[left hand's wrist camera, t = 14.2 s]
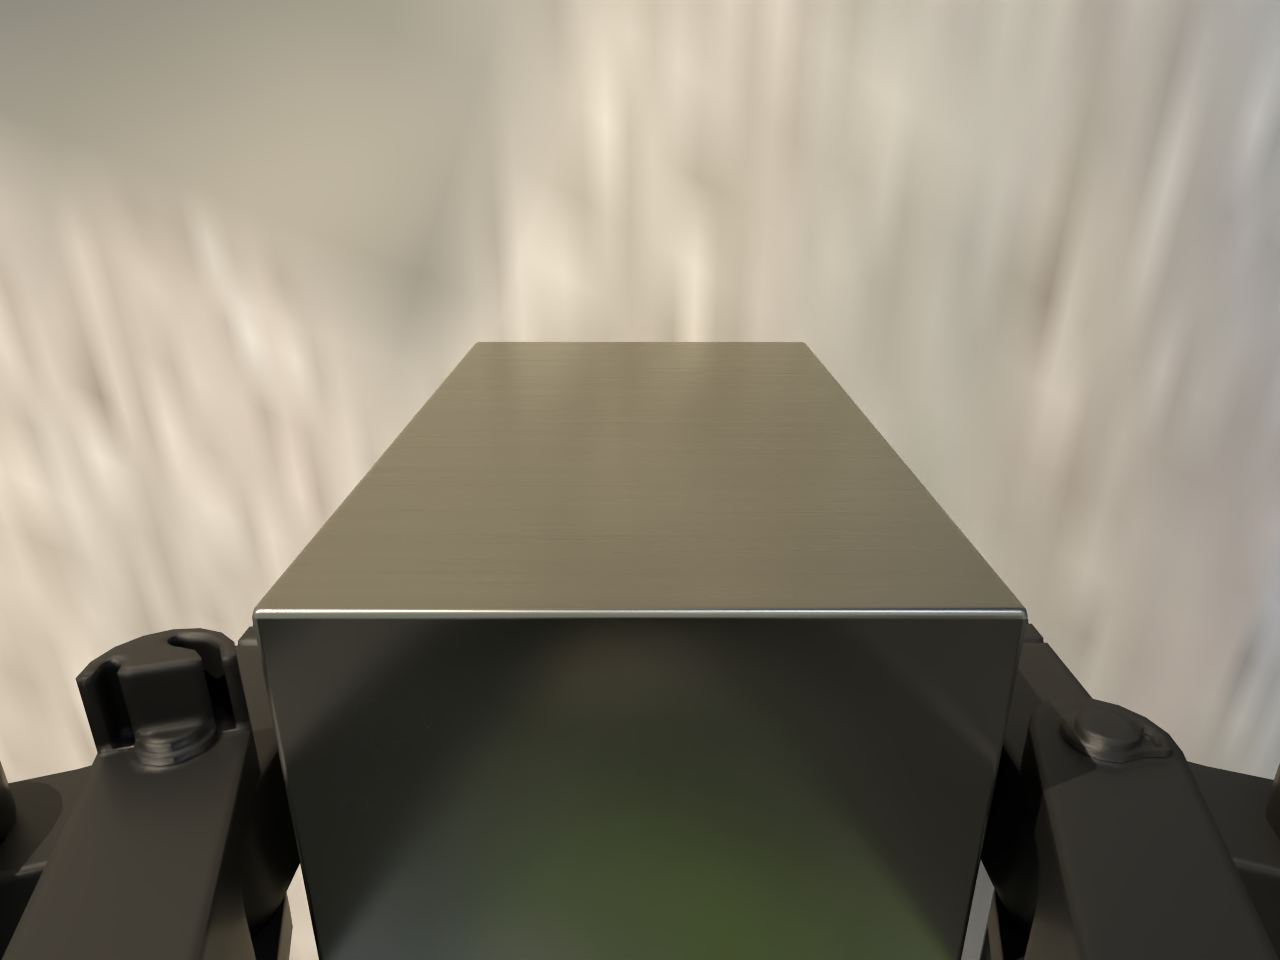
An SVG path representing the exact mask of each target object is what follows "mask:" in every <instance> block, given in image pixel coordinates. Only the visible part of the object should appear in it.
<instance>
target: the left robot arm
mask: <svg viewBox="0 0 1280 960" xmlns="http://www.w3.org/2000/svg"><path fill="white" fill-rule="evenodd" d="M76 681H77V685H78V688H79V691H80V695H81V698H82V701H83V705H84V708H85V711H86V715H87V718H88V722H89V725H90V728H91V732H92V735H93V738H94V742H95V745H96V749H97V752H98V754H97V756H96V758H95V760H94V762H93V764H92V766H88V767H84V768H80V769H77V770H72V771H67V772H62V773H57V774H52V775H48V776H43V777H38V778H33V779H28V780H23V781H18V782H13V783H9V784H8V782H7V779H6V776H5V773H4V770H3V767H2V765H1V762H0V960H289V954H290V945H291V936H292V927H293V926H292V919H291V913H290V907H289V902H288V897H287V889H288V887H289V885H290V883H291V881H292V879H293V877H294V875H295V872H296V870H297V868H298V866H299V864H300V859H299V854H298V849H297V844H296V839H295V834H294V829H293V824H292V818H291V813H290V808H289V803H288V798H287V793H286V788H285V783H284V778H283V772H282V767H281V762H280V757H279V752H278V747H277V742H276V737H275V731H274V726H273V721H272V716H271V711H270V706H269V701H268V696H267V691H266V685H265V680H264V675H263V670H262V665H261V660H260V655H259V650H258V645H257V639H256V634H255V629H254V624H253V627H249V628H248V629H247V631H246V632H245V633H244V634H243V635H242V637H241V638H240V639H239V640H238V646H235V644H234V642H233V641H232V640H231V639H229V638H228V637H227V636H225V635H224V634H223V633H221V632H216V631H211V630H206V629H201V628H195V629H173V630H168V631H164V632H159V633H155V634H150V635H145V636H142V637H139V638H137V639H134V640H132V641H129V642H127V643H124V644H122V645H119V646H116V647H114V648H113V649H111V650H109V651H108V652H106V653H104V654H103V655H101V656H100V657H98V658H96V659H95V660H93V661H91V662H90V663H89V664H88V665H87V667H86V668H85V669H84V670H83V671H82V672H81V673H80V674H79V675H78V676H77V677H76ZM981 860H982V863H983V865H984V867H985V869H986V871H987V873H988V875H989V877H990V879H991V882H992V884H993V886H994V892H993V897H992V902H991V907H990V912H989V916H988V921H987V926H986V931H985V935H984V940H983V945H982V950H981V955H980V959H979V960H1280V764H1279V767H1278V770H1277V773H1276V775H1275V778H1274V780H1271V779H1266V778H1261V777H1256V776H1251V775H1246V774H1241V773H1237V772H1232V771H1227V770H1222V769H1217V768H1212V767H1207V766H1203V765H1199V764H1195V763H1192V762H1188V761H1186V758H1185V756H1184V754H1183V752H1182V751H1181V749H1180V748H1179V747H1178V745H1177V744H1176V743H1175V742H1174V740H1173V739H1172V738H1171V736H1170V735H1169V734H1168V733H1167V732H1165V731H1164V730H1163V729H1161V728H1160V727H1158V726H1157V725H1156V724H1154V723H1153V722H1151V721H1150V720H1149V719H1147V718H1146V717H1143V716H1141V715H1139V714H1137V713H1135V712H1132V711H1130V710H1128V709H1126V708H1123V707H1121V706H1119V705H1115V704H1111V703H1107V702H1103V701H1099V700H1095V699H1092V697H1091V696H1090V695H1089V694H1088V693H1087V691H1086V690H1085V689H1084V688H1083V686H1082V685H1081V684H1080V683H1079V681H1078V680H1077V679H1076V678H1075V677H1074V675H1073V674H1072V673H1071V672H1070V670H1069V669H1068V668H1067V667H1066V665H1065V664H1064V663H1063V662H1062V661H1061V659H1060V658H1059V657H1058V656H1057V654H1056V653H1055V652H1054V651H1053V649H1052V648H1051V647H1050V646H1049V644H1048V643H1044V642H1043V637H1042V636H1041V635H1040V633H1039V632H1038V631H1037V630H1036V628H1035V627H1034V626H1033V625H1032V624H1028V619H1027V624H1026V630H1025V635H1024V640H1023V645H1022V650H1021V655H1020V660H1019V665H1018V670H1017V676H1016V681H1015V686H1014V691H1013V696H1012V701H1011V706H1010V711H1009V716H1008V722H1007V727H1006V732H1005V737H1004V742H1003V747H1002V752H1001V757H1000V762H999V767H998V773H997V778H996V783H995V788H994V793H993V798H992V803H991V808H990V813H989V819H988V824H987V829H986V834H985V839H984V844H983V849H982V854H981Z"/></svg>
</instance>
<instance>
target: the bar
mask: <svg viewBox="0 0 1280 960" xmlns="http://www.w3.org/2000/svg"><path fill="white" fill-rule="evenodd" d="M252 619H253V624H254V629H255V634H256V639H257V645H258V650H259V655H260V660H261V665H262V670H263V675H264V680H265V685H266V691H267V696H268V701H269V706H270V711H271V716H272V721H273V726H274V731H275V737H276V742H277V747H278V752H279V757H280V762H281V767H282V772H283V778H284V783H285V788H286V793H287V798H288V803H289V808H290V813H291V818H292V824H293V829H294V834H295V839H296V844H297V849H298V854H299V859H300V864H301V870H302V875H303V880H304V885H305V890H306V895H307V900H308V905H309V911H310V916H311V921H312V926H313V931H314V936H315V941H316V946H317V951H318V957H319V960H961V956H962V951H963V946H964V941H965V936H966V931H967V926H968V921H969V916H970V911H971V905H972V900H973V895H974V890H975V885H976V880H977V875H978V870H979V865H980V859H981V854H982V849H983V844H984V839H985V834H986V829H987V824H988V819H989V813H990V808H991V803H992V798H993V793H994V788H995V783H996V778H997V773H998V767H999V762H1000V757H1001V752H1002V747H1003V742H1004V737H1005V732H1006V727H1007V722H1008V716H1009V711H1010V706H1011V701H1012V696H1013V691H1014V686H1015V681H1016V676H1017V670H1018V665H1019V660H1020V655H1021V650H1022V645H1023V640H1024V635H1025V630H1026V624H1027V619H1028V616H1027V612H1026V609H1025V607H1024V606H1023V605H1022V604H1021V603H1020V601H1019V600H1018V599H1017V598H1016V597H1015V595H1014V594H1013V593H1012V592H1011V591H1010V589H1009V588H1008V587H1007V586H1006V585H1005V583H1004V582H1003V581H1002V580H1001V579H1000V577H999V576H998V575H997V574H996V572H995V571H994V570H993V569H992V568H991V566H990V565H989V564H988V563H987V562H986V560H985V559H984V558H983V557H982V556H981V554H980V553H979V552H978V551H977V550H976V548H975V547H974V546H973V545H972V544H971V542H970V541H969V540H968V539H967V538H966V536H965V535H964V534H963V533H962V532H961V530H960V529H959V528H958V527H957V526H956V524H955V523H954V522H953V521H952V520H951V518H950V517H949V516H948V515H947V513H946V512H945V511H944V510H943V509H942V507H941V506H940V505H939V504H938V503H937V501H936V500H935V499H934V498H933V497H932V495H931V494H930V493H929V492H928V491H927V489H926V488H925V487H924V486H923V485H922V483H921V482H920V481H919V480H918V479H917V477H916V476H915V475H914V474H913V473H912V471H911V470H910V469H909V468H908V467H907V465H906V464H905V463H904V462H903V460H902V459H901V458H900V457H899V456H898V454H897V453H896V452H895V451H894V450H893V448H892V447H891V446H890V445H889V444H888V442H887V441H886V440H885V439H884V438H883V436H882V435H881V434H880V433H879V432H878V430H877V429H876V428H875V427H874V426H873V424H872V423H871V422H870V421H869V420H868V418H867V417H866V416H865V415H864V414H863V412H862V411H861V410H860V409H859V408H858V406H857V405H856V404H855V403H854V401H853V400H852V399H851V398H850V397H849V395H848V394H847V393H846V392H845V391H844V389H843V388H842V387H841V386H840V385H839V383H838V382H837V381H836V380H835V379H834V377H833V376H832V375H831V374H830V373H829V371H828V370H827V369H826V368H825V367H824V365H823V364H822V363H821V362H820V361H819V359H818V358H817V357H816V356H815V355H814V353H813V352H812V351H811V350H810V349H809V347H808V346H807V345H806V344H805V343H803V342H478V343H476V344H475V345H474V346H473V347H472V348H471V350H470V351H469V352H468V353H467V354H466V356H465V357H464V358H463V359H462V360H461V362H460V363H459V364H458V365H457V366H456V367H455V369H454V370H453V371H452V372H451V373H450V375H449V376H448V377H447V378H446V379H445V381H444V382H443V383H442V384H441V385H440V387H439V388H438V389H437V390H436V391H435V393H434V394H433V395H432V396H431V397H430V399H429V400H428V401H427V402H426V403H425V405H424V406H423V407H422V408H421V409H420V411H419V412H418V413H417V414H416V415H415V417H414V418H413V419H412V420H411V421H410V423H409V424H408V425H407V426H406V427H405V429H404V430H403V431H402V432H401V433H400V435H399V436H398V437H397V438H396V439H395V441H394V442H393V443H392V444H391V445H390V447H389V448H388V449H387V450H386V451H385V453H384V454H383V455H382V456H381V457H380V458H379V460H378V461H377V462H376V463H375V464H374V466H373V467H372V468H371V469H370V470H369V472H368V473H367V474H366V475H365V476H364V478H363V479H362V480H361V481H360V482H359V484H358V485H357V486H356V487H355V488H354V490H353V491H352V492H351V493H350V494H349V496H348V497H347V498H346V499H345V500H344V502H343V503H342V504H341V505H340V506H339V508H338V509H337V510H336V511H335V512H334V514H333V515H332V516H331V517H330V518H329V520H328V521H327V522H326V523H325V524H324V526H323V527H322V528H321V529H320V530H319V532H318V533H317V534H316V535H315V536H314V538H313V539H312V540H311V541H310V542H309V544H308V545H307V546H306V547H305V548H304V549H303V551H302V552H301V553H300V554H299V555H298V557H297V558H296V559H295V560H294V561H293V563H292V564H291V565H290V566H289V567H288V569H287V570H286V571H285V572H284V573H283V575H282V576H281V577H280V578H279V579H278V581H277V582H276V583H275V584H274V585H273V587H272V588H271V589H270V590H269V591H268V593H267V594H266V595H265V596H264V597H263V599H262V600H261V601H260V602H259V603H258V605H257V606H256V607H255V608H254V611H253V616H252Z"/></svg>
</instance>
